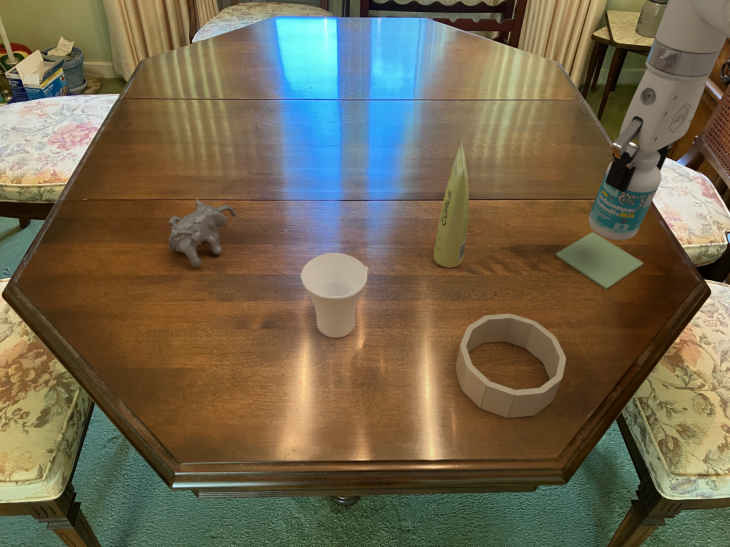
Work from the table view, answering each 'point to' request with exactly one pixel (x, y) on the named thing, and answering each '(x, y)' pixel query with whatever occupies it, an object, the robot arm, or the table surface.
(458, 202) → the tube
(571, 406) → the table surface
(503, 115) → the table surface
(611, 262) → the mat
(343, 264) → the cup
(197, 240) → the elephant statuette
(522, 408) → the polygonal ring band
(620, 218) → the pill bottle
